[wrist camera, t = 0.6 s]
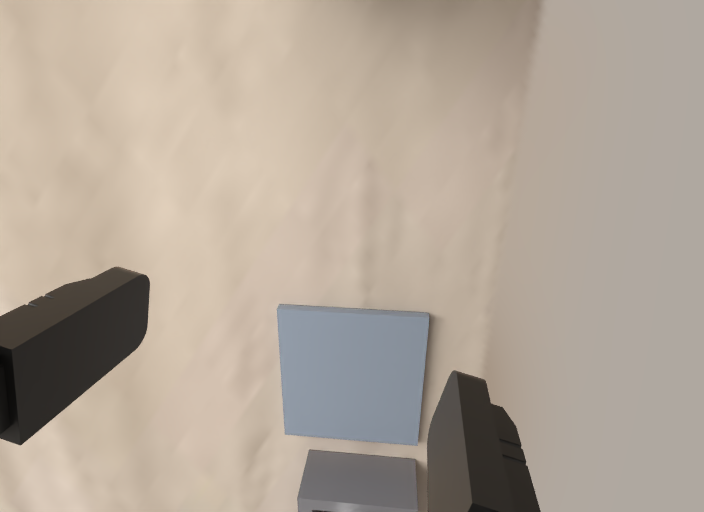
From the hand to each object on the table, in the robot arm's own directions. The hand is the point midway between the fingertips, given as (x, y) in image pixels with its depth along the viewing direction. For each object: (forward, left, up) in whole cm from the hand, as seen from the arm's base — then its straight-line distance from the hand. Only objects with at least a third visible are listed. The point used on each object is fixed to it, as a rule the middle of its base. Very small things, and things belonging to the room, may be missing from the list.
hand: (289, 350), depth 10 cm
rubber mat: (+16, 0, -20) cm, 26 cm away
